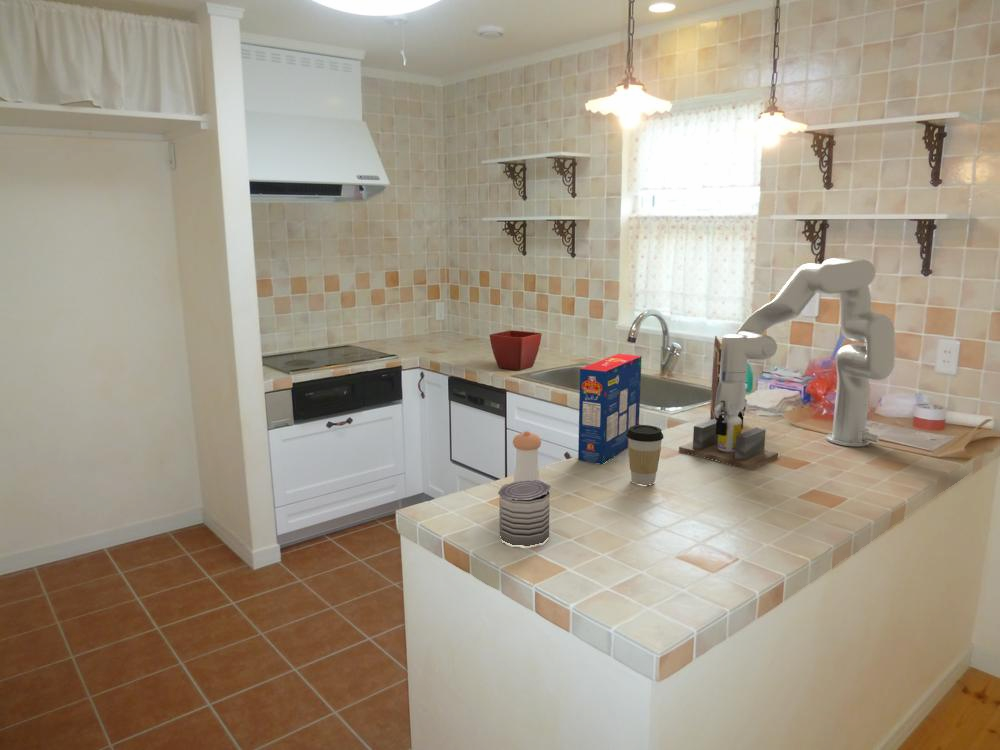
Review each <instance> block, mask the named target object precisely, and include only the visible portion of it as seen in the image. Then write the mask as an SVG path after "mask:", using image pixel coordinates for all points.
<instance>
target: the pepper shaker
mask: <svg viewBox="0 0 1000 750" xmlns="http://www.w3.org/2000/svg"><path fill="white" fill-rule="evenodd" d="M512 445H513V447H514V448H515V466H514V473H513V482H516V481H519V480H540V481H541V475H540V469H539V448H540V447H541V445H542V440H541V438H540V437H539V435H538V434H535V433H533V432H530V431H529V430H525V431H524V432H522V433H519V434H516V435H515V436H514V437H513V439H512Z"/></svg>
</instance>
